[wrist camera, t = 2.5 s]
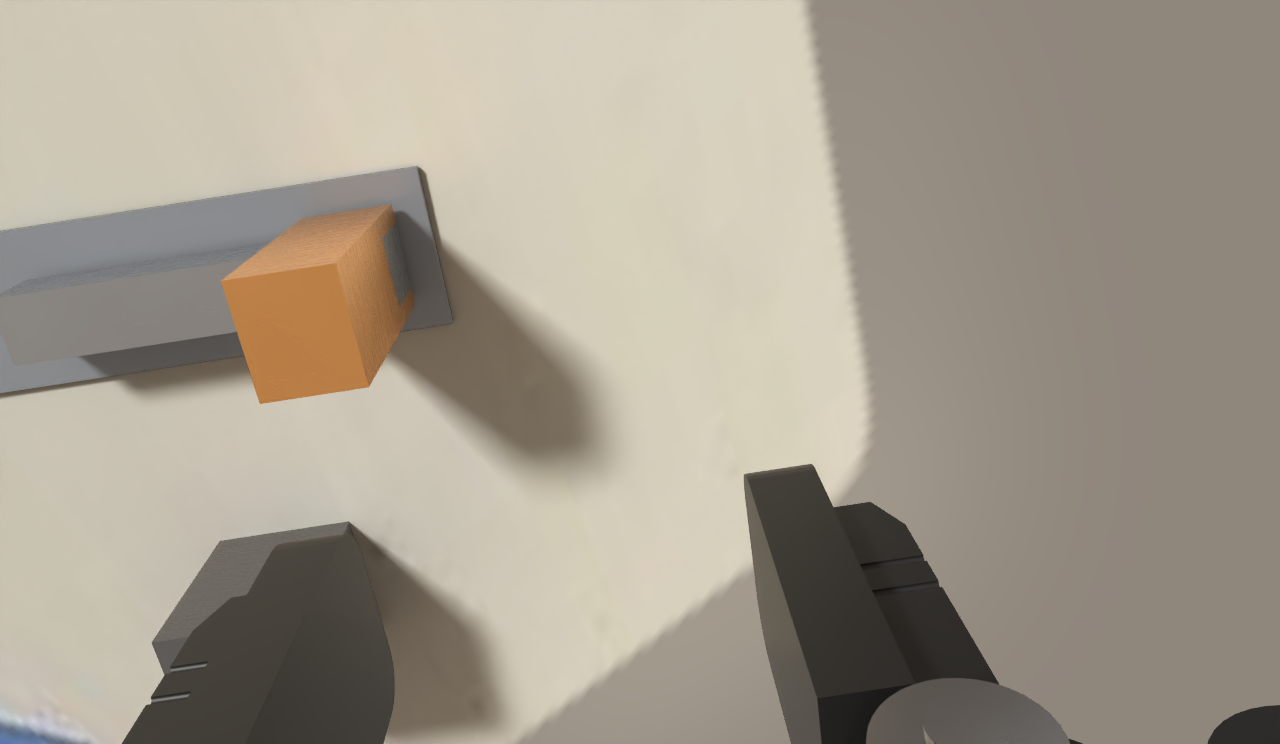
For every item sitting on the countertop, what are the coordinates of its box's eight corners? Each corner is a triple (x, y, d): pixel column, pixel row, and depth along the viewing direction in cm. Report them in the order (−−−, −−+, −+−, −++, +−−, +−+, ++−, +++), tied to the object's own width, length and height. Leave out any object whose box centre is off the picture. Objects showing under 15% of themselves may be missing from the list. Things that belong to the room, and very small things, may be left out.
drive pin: (19, 261, 26) (-140, 336, 20) (391, 204, 26) (335, 263, 20) (58, 359, 27) (-84, 456, 21) (415, 304, 27) (368, 387, 21)
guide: (-137, 252, 26) (-142, 254, 26) (417, 165, 26) (416, 167, 26) (-68, 401, 28) (-73, 404, 27) (453, 321, 27) (452, 323, 27)
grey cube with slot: (220, 540, 30) (149, 645, 25) (349, 520, 30) (303, 622, 25) (258, 646, 31) (198, 765, 26) (381, 628, 31) (342, 743, 26)
